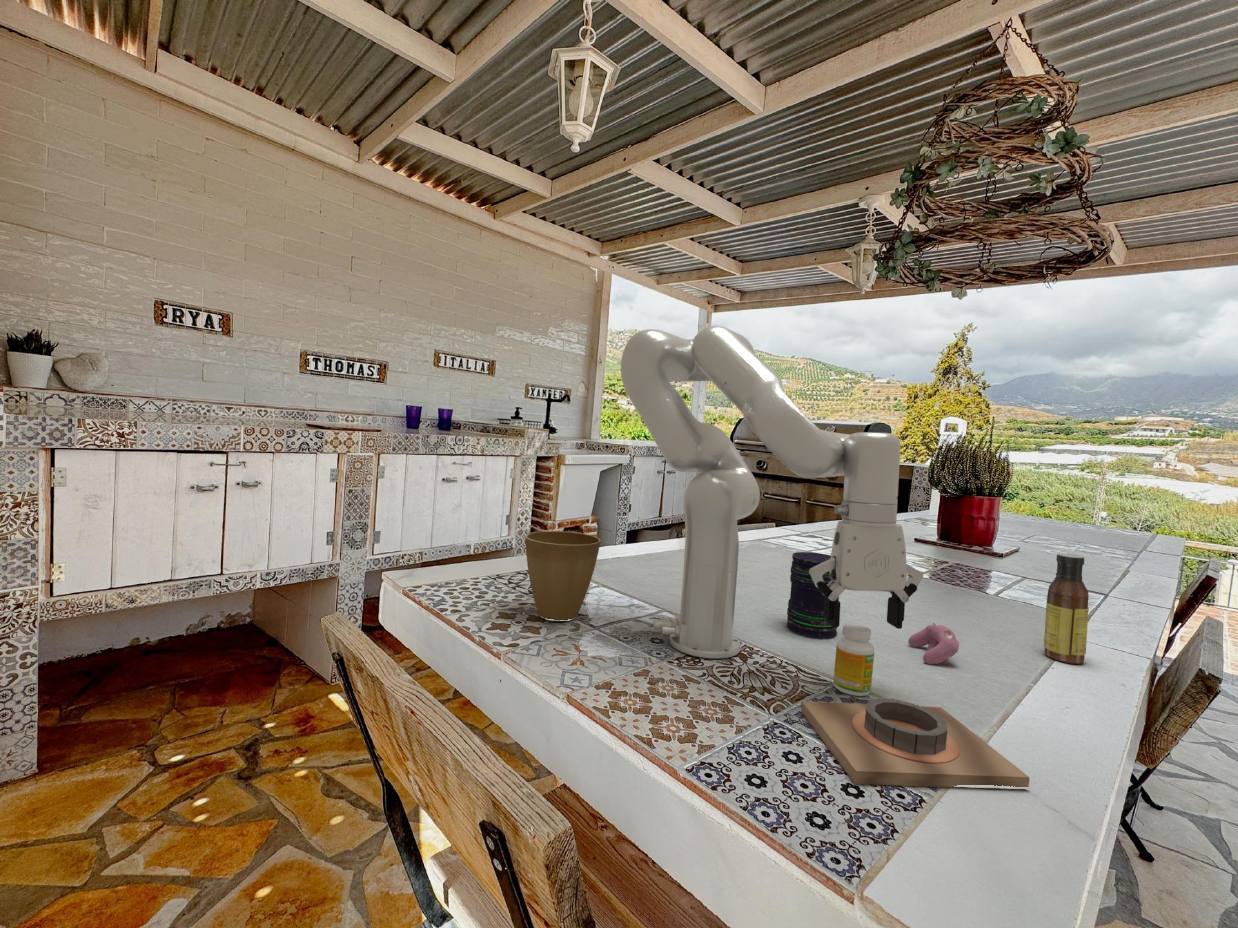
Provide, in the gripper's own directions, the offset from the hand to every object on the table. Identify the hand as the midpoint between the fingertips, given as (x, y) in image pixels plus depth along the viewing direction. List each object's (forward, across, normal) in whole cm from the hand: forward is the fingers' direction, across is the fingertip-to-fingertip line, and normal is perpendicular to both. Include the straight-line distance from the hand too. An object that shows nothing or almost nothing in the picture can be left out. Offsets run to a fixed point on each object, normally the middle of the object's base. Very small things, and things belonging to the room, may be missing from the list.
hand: (863, 625), depth 85 cm
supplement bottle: (+10, -1, +1) cm, 11 cm away
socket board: (+10, -2, -15) cm, 19 cm away
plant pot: (+8, -48, +28) cm, 56 cm away
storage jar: (+10, +3, +27) cm, 29 cm away
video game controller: (+11, +21, +16) cm, 29 cm away
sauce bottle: (+12, +48, +18) cm, 52 cm away
